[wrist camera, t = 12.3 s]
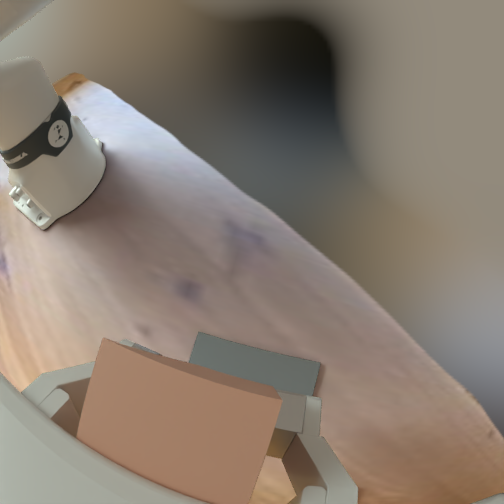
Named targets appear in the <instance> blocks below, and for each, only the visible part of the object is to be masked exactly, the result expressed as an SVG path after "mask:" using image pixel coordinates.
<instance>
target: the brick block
mask: <svg viewBox="0 0 504 504" xmlns="http://www.w3.org/2000/svg"><path fill="white" fill-rule="evenodd" d="M282 401H283V400H282V399H281V397H280V396H279V394H278V393H277V392H276V390H275V389H274V387H273V386H270V385H266V384H262V383H258V382H254V381H250V380H246V379H242V378H239V377H235V376H232V375H228V374H225V373H222V372H218V371H215V370H212V369H209V368H206V367H203V366H200V365H196V364H192V363H187V362H183V361H179V360H175V359H171V358H168V357H164V356H160V355H157V354H153V353H150V352H146V351H143V350H139V349H136V348H133V347H130V346H127V345H123V344H120V343H117V342H114V341H111V340H109V339H106V338H103V339H102V342H101V346H100V349H99V352H98V355H97V358H96V361H95V365H94V368H93V371H92V375H91V378H90V382H89V386H88V389H87V393H86V397H85V401H84V405H83V409H82V413H81V418H80V422H79V427H78V432H77V437H76V439H78V440H79V441H81V442H82V443H84V444H85V445H87V446H88V447H90V448H91V449H93V450H94V451H96V452H98V453H99V454H101V455H103V456H104V457H106V458H108V459H109V460H111V461H113V462H115V463H116V464H118V465H120V466H122V467H124V468H126V469H127V470H129V471H131V472H133V473H135V474H137V475H139V476H141V477H143V478H145V479H148V480H150V481H152V482H154V483H156V484H159V485H161V486H163V487H166V488H168V489H171V490H173V491H176V492H178V493H181V494H183V495H186V496H189V497H192V498H195V499H198V500H201V501H204V502H207V503H210V504H248V503H249V500H250V498H251V495H252V492H253V490H254V487H255V484H256V482H257V479H258V476H259V473H260V470H261V468H262V465H263V462H264V459H265V456H266V453H267V450H268V447H269V444H270V441H271V438H272V434H273V431H274V428H275V425H276V422H277V418H278V415H279V412H280V408H281V405H282Z"/></svg>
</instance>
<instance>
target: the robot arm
mask: <svg viewBox="0 0 504 504" xmlns="http://www.w3.org/2000/svg"><path fill="white" fill-rule="evenodd" d="M52 1H54V0H0V41H2V40H3V39H4V38H5V37H7V36H8V35H9V34H11V33H12V32H13V31H14V30H16V29H17V28H19V27H20V26H22V25H23V24H24V23H26V22H27V21H28V20H30V19H31V18H33V17H34V16H35V15H36V14H37V13H39V12H40V11H41V10H42V9H44V8H45V7H46V6H47V5H49V4H50V3H51V2H52ZM101 147H102V142H101V141H100V140H99V139H98V138H95V139H93V137H92V136H91V134H90V133H89V132H88V130H87V129H86V127H85V126H84V125H83V123H82V122H81V120H80V119H79V118H78V117H77V116H71V112H70V111H69V109H68V106H67V104H66V102H65V101H64V100H63V99H62V97H61V96H58V95H57V94H56V92H55V90H54V88H53V86H52V84H51V82H50V80H49V78H48V76H47V74H46V72H45V70H44V68H43V66H42V64H41V62H40V61H38V60H37V59H35V58H33V57H19V58H15V59H11V60H8V61H0V154H1V155H2V159H3V160H4V162H5V163H6V164H7V166H8V167H9V176H8V181H9V183H10V184H11V185H12V187H13V189H12V190H11V192H10V193H9V195H10V196H11V197H12V198H13V199H14V202H13V203H14V205H15V206H16V207H17V208H18V209H19V210H20V211H21V212H22V213H23V214H24V215H25V216H26V217H28V218H29V219H30V220H31V221H32V222H33V223H34V224H36V225H37V226H38V227H39V228H40V229H42V230H44V229H46V228H47V227H49V226H50V225H51V224H52V223H53V222H54V221H55V220H56V219H58V218H59V217H61V216H63V215H65V214H67V213H69V212H71V211H72V210H74V209H75V208H76V207H78V206H79V205H80V204H81V203H82V202H83V201H84V200H85V199H86V198H87V197H88V196H89V195H90V194H91V193H92V192H93V190H94V189H95V188H96V186H97V185H98V183H99V182H100V180H101V178H102V176H103V173H104V170H105V166H106V160H105V156H104V155H103V153H102V151H101ZM119 343H120V344H123V345H127V346H130V347H133V348H136V349H139V350H143V351H146V352H150V353H153V354H157V355H160V356H162V355H161V354H160V353H157V352H155V351H152V350H150V349H148V348H146V347H143V346H141V345H139V344H136V343H134V342H132V341H130V340H127V339H124V340H121V341H120V342H119ZM94 365H95V361H94V362H90V363H86V364H82V365H78V366H74V367H70V368H65V369H61V370H56V371H52V372H47V373H43V374H41V375H40V376H39V377H38V378H37V379H36V380H34V381H33V382H32V383H31V384H30V385H29V386H28V387H27V388H25V389H24V390H23V391H22V392H21V393H20V392H19V391H18V390H17V389H16V388H15V387H14V386H13V385H12V384H11V383H10V382H9V381H8V380H7V379H6V378H5V376H4V375H3V374H2V373H1V372H0V504H210V503H207V502H204V501H201V500H198V499H195V498H192V497H189V496H186V495H183V494H181V493H178V492H176V491H173V490H171V489H168V488H166V487H163V486H161V485H159V484H156V483H154V482H152V481H150V480H148V479H145V478H143V477H141V476H139V475H137V474H135V473H133V472H131V471H129V470H127V469H126V468H124V467H122V466H120V465H118V464H116V463H115V462H113V461H111V460H109V459H108V458H106V457H104V456H103V455H101V454H99V453H98V452H96V451H94V450H93V449H91V448H90V447H88V446H87V445H85V444H84V443H82V442H81V441H79V440H78V439H76V437H77V432H78V427H79V422H80V418H81V413H82V409H83V405H84V401H85V397H86V393H87V389H88V386H89V382H90V378H91V375H92V371H93V368H94ZM276 392H277V393H278V394H279V396H280V397H281V399H282V400H283V401H282V405H281V408H280V412H279V415H278V418H277V422H276V425H275V428H274V431H273V434H272V438H271V441H270V444H269V447H268V450H267V453H266V455H267V456H271V457H276V458H280V459H282V462H283V464H284V467H285V469H286V472H287V474H288V476H289V479H290V481H291V483H292V485H293V488H294V490H295V492H296V495H297V496H296V497H294V498H293V499H292V500H291V501H290V502H289V503H288V504H357V502H358V487H357V486H356V484H355V483H354V481H353V480H352V479H351V477H350V476H349V474H348V473H347V471H346V470H345V468H344V467H343V465H342V464H341V462H340V461H339V459H338V458H337V456H336V455H335V453H334V452H333V450H332V449H331V447H330V446H329V444H328V443H327V441H326V440H325V438H324V437H320V436H319V435H320V422H321V406H322V400H321V398H319V397H313V396H307V395H302V394H297V393H292V392H287V391H282V390H278V389H277V390H276ZM471 504H504V493H499V494H496V495H493V496H490V497H488V498H485V499H483V500H480V501H477V502H474V503H471Z"/></svg>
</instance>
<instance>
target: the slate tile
mask: <svg viewBox="0 0 504 504" xmlns="http://www.w3.org/2000/svg"><path fill="white" fill-rule="evenodd" d="M189 363H192V364H196V365H200V366H203V367H206V368H209V369H212V370H215V371H218V372H222V373H225V374H228V375H232V376H235V377H239V378H242V379H246V380H250V381H254V382H258V383H262V384H266V385H270V386H273V387H274V389H275V390H277V389H278V390H282V391H287V392H292V393H297V394H302V395H307V396H312V395H313V391H314V388H315V384H316V380H317V376H318V372H319V368H320V362H315V361H310V360H305V359H300V358H296V357H291V356H287V355H283V354H278V353H274V352H270V351H266V350H262V349H258V348H254V347H250V346H247V345H243V344H239V343H235V342H232V341H228V340H225V339H221V338H218V337H215V336H211V335H208V334H205V333H202V332H198V335H197V338H196V341H195V344H194V348H193V351H192V354H191V357H190V360H189Z"/></svg>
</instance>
